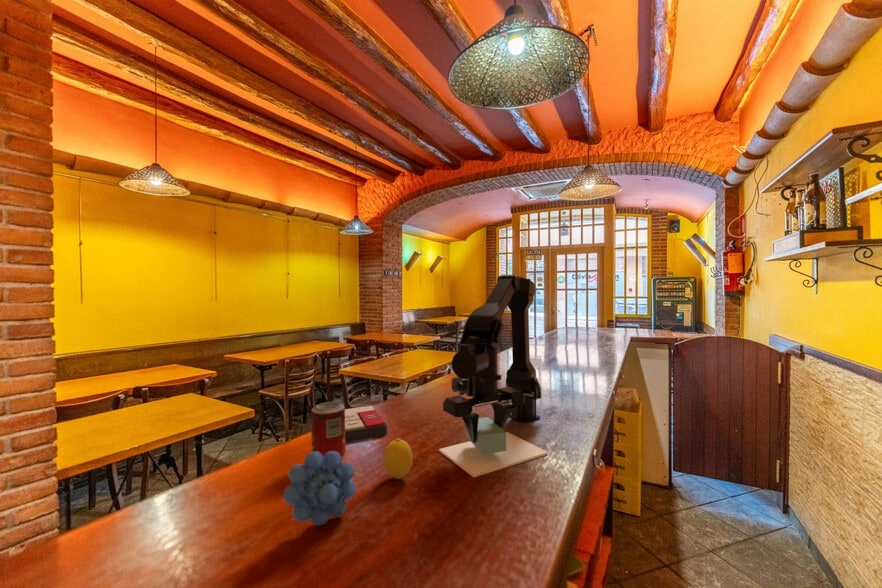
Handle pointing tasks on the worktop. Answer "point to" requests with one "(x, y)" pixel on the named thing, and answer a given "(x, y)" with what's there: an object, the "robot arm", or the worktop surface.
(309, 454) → the blue knobbed flower
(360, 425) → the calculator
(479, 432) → the grey-green block
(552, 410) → the worktop surface
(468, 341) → the robot arm
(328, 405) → the soda can
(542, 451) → the mat
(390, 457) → the lemon
